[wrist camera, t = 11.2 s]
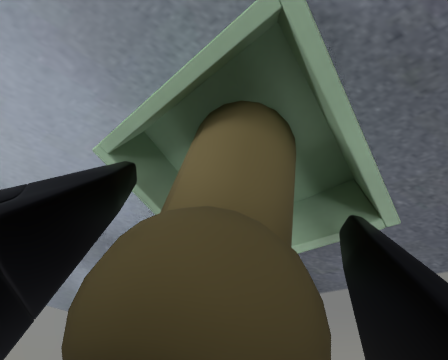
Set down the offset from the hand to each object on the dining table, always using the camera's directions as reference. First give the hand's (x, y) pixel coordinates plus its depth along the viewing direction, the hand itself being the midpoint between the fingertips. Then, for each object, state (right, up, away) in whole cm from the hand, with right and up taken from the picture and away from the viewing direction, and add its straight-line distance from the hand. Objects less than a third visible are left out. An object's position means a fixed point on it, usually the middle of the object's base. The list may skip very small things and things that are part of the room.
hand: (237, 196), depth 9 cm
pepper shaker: (+1, +2, +4) cm, 5 cm away
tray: (+1, +3, +4) cm, 5 cm away
